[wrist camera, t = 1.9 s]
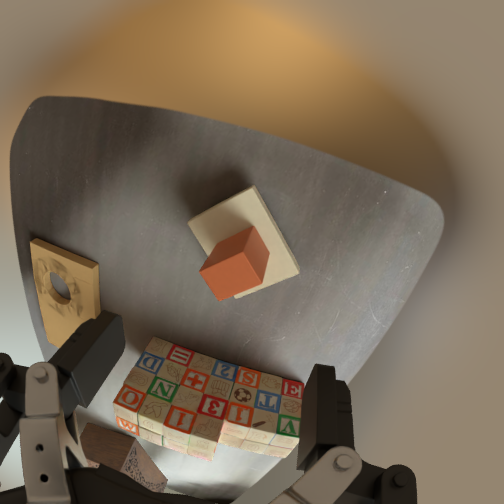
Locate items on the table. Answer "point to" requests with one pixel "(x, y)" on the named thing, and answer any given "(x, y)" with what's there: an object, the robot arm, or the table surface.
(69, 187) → the table surface
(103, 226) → the table surface
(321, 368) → the robot arm
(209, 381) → the stack of blocks
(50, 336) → the base pad
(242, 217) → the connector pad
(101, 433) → the tissue box cover
